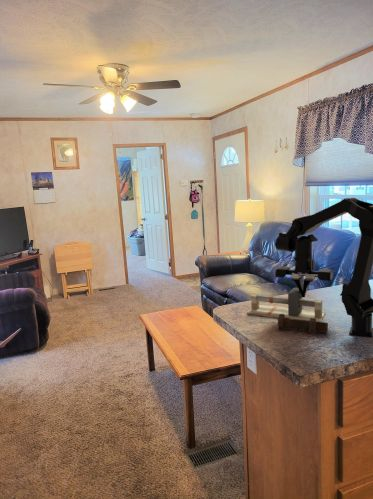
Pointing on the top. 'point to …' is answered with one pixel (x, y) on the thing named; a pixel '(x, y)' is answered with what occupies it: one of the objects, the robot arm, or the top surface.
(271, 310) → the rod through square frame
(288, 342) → the top surface
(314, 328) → the bolt
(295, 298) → the grey square collar
